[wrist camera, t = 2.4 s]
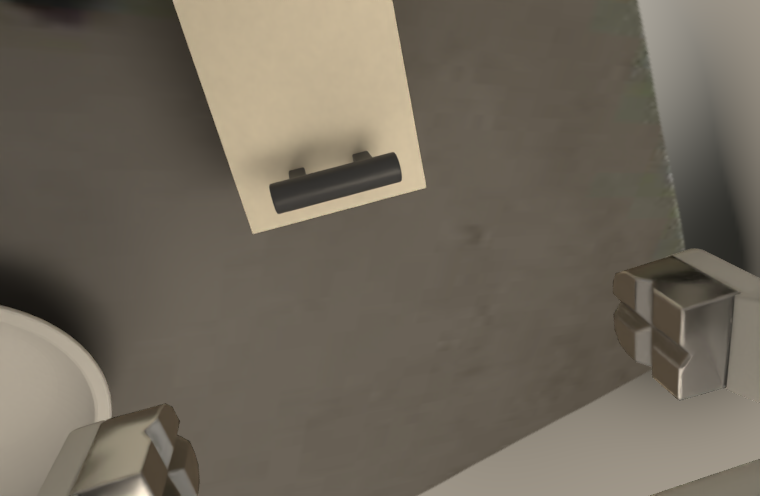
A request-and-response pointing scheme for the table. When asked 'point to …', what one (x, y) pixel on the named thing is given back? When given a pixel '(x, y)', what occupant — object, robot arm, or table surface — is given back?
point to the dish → (42, 398)
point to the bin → (306, 102)
